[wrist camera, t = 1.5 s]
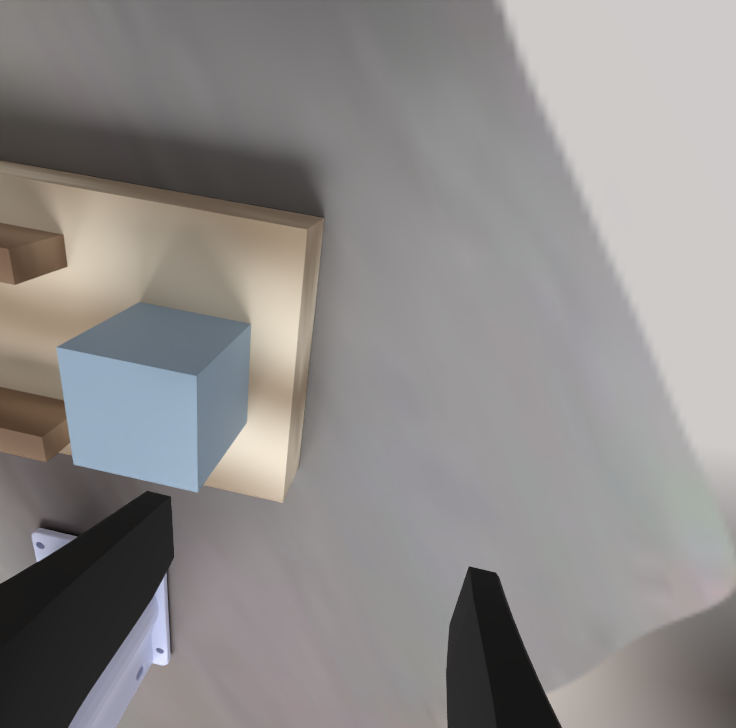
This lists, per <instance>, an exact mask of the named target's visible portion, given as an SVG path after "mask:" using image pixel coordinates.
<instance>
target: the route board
mask: <svg viewBox="0 0 736 728" xmlns="http://www.w3.org/2000/svg"><path fill="white" fill-rule="evenodd" d="M323 227H324V218H322V217H316V216H310V215H305V214H299V213H294V212H288V211H282V210H277V209H271V208H266V207H260V206H254V205H249V204H243V203H237V202H232V201H226V200H221V199H215V198H209V197H204V196H198V195H193V194H187V193H181V192H176V191H170V190H165V189H159V188H153V187H148V186H142V185H137V184H131V183H125V182H120V181H114V180H108V179H103V178H97V177H92V176H86V175H80V174H75V173H69V172H64V171H58V170H52V169H47V168H41V167H36V166H30V165H24V164H19V163H13V162H8V161H2V160H0V452H3V453H8V454H12V455H17V456H21V457H26V458H30V459H34V460H39V461H43V462H47V461H48V460H50V459H51V458H52V457H53V456H55V455H56V454H57V453H62V454H67V455H71V456H72V451H71V444H70V437H69V430H68V423H67V417H66V410H65V403H64V396H63V390H62V383H61V376H60V369H59V363H58V356H57V349H56V347H57V346H59V345H61V344H63V343H65V342H66V341H68V340H70V339H72V338H74V337H76V336H78V335H79V334H81V333H83V332H85V331H87V330H89V329H90V328H92V327H94V326H96V325H98V324H100V323H102V322H103V321H105V320H107V319H109V318H111V317H113V316H114V315H116V314H118V313H120V312H122V311H124V310H126V309H127V308H129V307H131V306H133V305H135V304H137V303H138V302H142V303H147V304H153V305H158V306H163V307H168V308H173V309H178V310H183V311H188V312H193V313H198V314H203V315H208V316H214V317H219V318H224V319H229V320H234V321H239V322H244V323H249V324H251V341H250V364H249V387H248V410H247V423H246V425H245V426H244V428H243V429H242V430H241V432H240V433H239V435H238V436H237V438H236V439H235V440H234V442H233V443H232V445H231V446H230V447H229V449H228V450H227V452H226V453H225V455H224V456H223V457H222V459H221V460H220V462H219V463H218V464H217V466H216V467H215V469H214V470H213V472H212V473H211V474H210V476H209V477H208V479H207V480H206V482H205V483H204V484H203V485H206V486H210V487H215V488H219V489H224V490H228V491H233V492H237V493H241V494H246V495H250V496H255V497H259V498H264V499H268V500H273V501H277V502H282V503H283V502H284V499H285V497H286V495H287V493H288V491H289V488H290V486H291V484H292V482H293V480H294V477H295V475H296V473H297V471H298V469H299V460H300V450H301V440H302V431H303V421H304V411H305V402H306V392H307V382H308V373H309V363H310V353H311V343H312V334H313V324H314V314H315V305H316V295H317V285H318V276H319V266H320V256H321V247H322V237H323Z"/></svg>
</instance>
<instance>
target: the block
mask: <svg viewBox="0 0 736 728" xmlns="http://www.w3.org/2000/svg"><path fill="white" fill-rule="evenodd" d="M250 341H251V324H249V323H244V322H239V321H234V320H229V319H224V318H219V317H214V316H208V315H203V314H198V313H193V312H188V311H183V310H178V309H173V308H168V307H163V306H158V305H153V304H147V303H142V302H138V303H137V304H135V305H133V306H131V307H129V308H127V309H126V310H124V311H122V312H120V313H118V314H116V315H114V316H113V317H111V318H109V319H107V320H105V321H103V322H102V323H100V324H98V325H96V326H94V327H92V328H90V329H89V330H87V331H85V332H83V333H81V334H79V335H78V336H76V337H74V338H72V339H70V340H68V341H66V342H65V343H63V344H61V345H59V346H57V347H56V349H57V356H58V363H59V369H60V376H61V383H62V390H63V396H64V403H65V410H66V417H67V423H68V430H69V437H70V444H71V451H72V457H73V464H74V465H78V466H82V467H86V468H91V469H95V470H100V471H104V472H109V473H113V474H118V475H122V476H126V477H131V478H135V479H140V480H144V481H149V482H153V483H158V484H162V485H167V486H171V487H175V488H180V489H184V490H189V491H193V492H198V491H199V490H200V489H201V487H202V486H203V484H204V483H205V482H206V480H207V479H208V477H209V476H210V474H211V473H212V472H213V470H214V469H215V467H216V466H217V464H218V463H219V462H220V460H221V459H222V457H223V456H224V455H225V453H226V452H227V450H228V449H229V447H230V446H231V445H232V443H233V442H234V440H235V439H236V438H237V436H238V435H239V433H240V432H241V430H242V429H243V428H244V426H245V425H246V423H247V410H248V387H249V364H250Z"/></svg>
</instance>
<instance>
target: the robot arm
mask: <svg viewBox="0 0 736 728" xmlns="http://www.w3.org/2000/svg"><path fill="white" fill-rule="evenodd" d="M32 541H33V546H34V551H35V556H36V560H37V563H35V564H33V565H32V566H30V567H28V568H27V569H25V570H23V571H22V572H20V573H18V574H17V575H15V576H13V577H12V578H10V579H8V580H6V581H5V582H3V583H1V584H0V728H116V726H117V724H118V723H119V721H120V719H121V717H122V716H123V714H124V712H125V710H126V709H127V707H128V705H129V703H130V701H131V700H132V698H133V696H134V694H135V693H136V691H137V689H138V687H139V685H140V684H141V682H142V680H143V678H144V677H145V675H146V673H147V671H148V669H149V668H150V666H151V664H152V663H155V664H159V665H167V664H168V662H169V661H170V658H171V652H170V633H169V613H168V593H167V573H166V572H167V570H168V568H169V566H170V564H171V562H172V560H173V558H174V546H173V527H172V509H171V497H170V496H166V495H162V494H158V493H153V492H149V491H146V492H145V493H143V494H142V495H140V496H139V497H137V498H136V499H134V500H132V501H131V502H129V503H128V504H126V505H125V506H123V507H122V508H120V509H119V510H118V511H116V512H115V513H113V514H112V515H110V516H109V517H107V518H106V519H104V520H103V521H101V522H100V523H98V524H97V525H95V526H94V527H92V528H91V529H89V530H88V531H86V532H84V533H83V534H81V535H80V536H78V537H77V536H73V535H69V534H65V533H60V532H56V531H52V530H48V529H44V528H38V529H36V530H35V531H34V532H33V533H32ZM446 684H447V720H448V728H562V727H561V725H560V723H559V721H558V719H557V717H556V715H555V713H554V711H553V709H552V707H551V704H550V703H549V701H548V698H547V696H546V694H545V692H544V690H543V688H542V685H541V683H540V681H539V679H538V677H537V674H536V672H535V670H534V667H533V665H532V663H531V660H530V658H529V656H528V654H527V651H526V649H525V647H524V644H523V642H522V639H521V637H520V634H519V632H518V629H517V627H516V624H515V621H514V619H513V616H512V613H511V611H510V608H509V605H508V602H507V600H506V597H505V594H504V591H503V588H502V585H501V582H500V579H499V577H498V575H497V574H496V573H495V572H490V571H486V570H482V569H478V568H473V567H469V568H468V571H467V574H466V577H465V580H464V583H463V586H462V589H461V592H460V595H459V598H458V601H457V604H456V607H455V610H454V613H453V616H452V619H451V622H450V626H449V639H448V653H447V669H446Z"/></svg>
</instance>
